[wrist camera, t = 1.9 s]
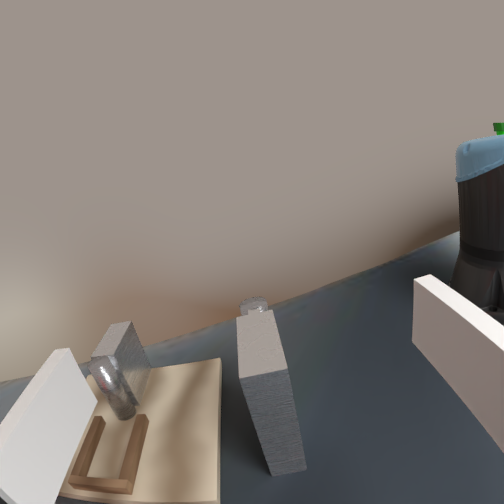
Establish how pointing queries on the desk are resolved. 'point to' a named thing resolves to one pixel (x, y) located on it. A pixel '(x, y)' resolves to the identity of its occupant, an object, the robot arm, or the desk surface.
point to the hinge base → (154, 443)
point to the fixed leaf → (121, 369)
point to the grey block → (268, 387)
